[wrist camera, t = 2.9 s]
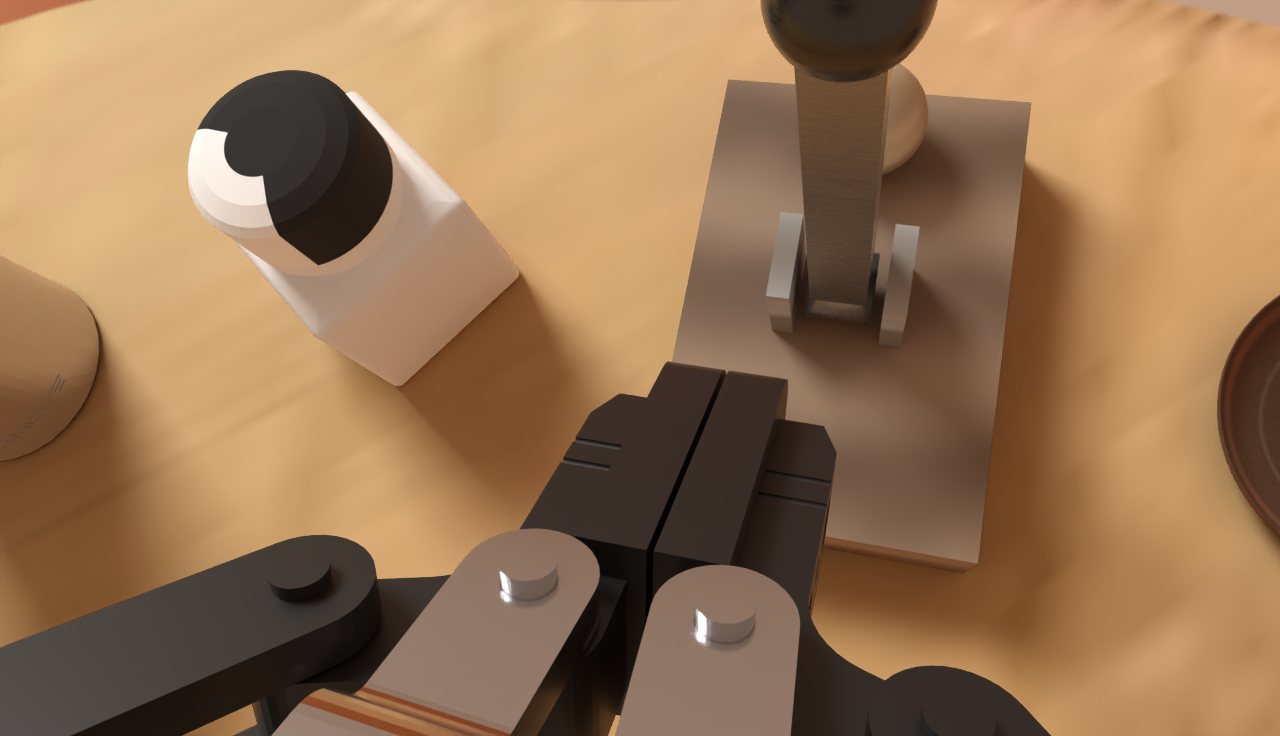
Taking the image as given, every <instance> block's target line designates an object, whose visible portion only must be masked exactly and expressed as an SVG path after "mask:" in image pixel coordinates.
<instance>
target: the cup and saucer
mask: <svg viewBox="0 0 1280 736" xmlns="http://www.w3.org/2000/svg"><path fill="white" fill-rule="evenodd" d="M1217 420H1218V430H1219V435H1220V440H1221V445H1222V449H1223V452H1224V455H1225V458H1226V461H1227V464H1228V466H1229V468H1230V470H1231V473H1232V475H1233V477H1234V479H1235V481H1236V483H1237V484H1238V486H1239V488H1240V490H1241V492H1242V493H1243V495H1244V496H1245V498H1246V499H1247V500H1248V502H1249V503H1250V505H1251V506H1252V508H1253V509H1254V510H1255V511H1256V512H1257V514H1258V515H1259V516H1260V517H1261V518H1262V520H1263V521H1264V522H1265V523H1266V524H1267V525H1268V526H1269V527H1270V528H1271V529H1272V530H1273V531H1274V532H1275V533H1276V534H1277V535H1278V536H1280V295H1279V296H1278V297H1276V298H1275V299H1274V300H1272V301H1271V302H1270V303H1268V304H1267V305H1266V306H1265V307H1264V308H1263V309H1262V310H1260V311H1259V312H1258V313H1257V314H1256V315H1255V316H1254V317H1253V318H1252V320H1251V321H1250V322H1249V323H1248V324H1247V326H1246V327H1245V328H1244V329H1243V331H1242V332H1241V334H1240V335H1239V337H1238V338H1237V340H1236V342H1235V343H1234V345H1233V347H1232V349H1231V351H1230V353H1229V355H1228V358H1227V361H1226V363H1225V366H1224V369H1223V372H1222V376H1221V380H1220V384H1219V391H1218V399H1217Z"/></svg>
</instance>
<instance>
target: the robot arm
mask: <svg viewBox="0 0 1280 736" xmlns="http://www.w3.org/2000/svg"><path fill="white" fill-rule="evenodd" d="M98 358H99V339H98V332H97V328H96V325H95V321H94V318H93V316H92V314H91V313H90V311H89V309H88V307H87V306H86V304H85V303H84V302H83V301H82V300H81V299H80V298H79V297H78V296H77V295H76V294H75V293H74V292H72V291H71V290H69V289H67V288H65V287H63V286H62V285H60V284H58V283H56V282H54V281H52V280H49V279H47V278H45V277H43V276H41V275H39V274H37V273H35V272H33V271H31V270H29V269H27V268H25V267H23V266H20V265H18V264H16V263H14V262H12V261H10V260H8V259H7V258H5V257H3V256H1V255H0V461H2V460H8V459H15V458H18V457H21V456H23V455H26V454H28V453H31V452H33V451H35V450H37V449H38V448H40V447H42V446H43V445H45V444H46V443H48V442H50V441H51V440H52V439H53V438H54V437H56V436H57V435H58V434H59V433H60V432H61V431H62V430H63V429H64V428H65V427H67V425H68V424H69V423H70V422H71V420H72V419H73V418H74V416H75V415H76V414H77V413H78V411H79V410H80V408H81V407H82V405H83V403H84V401H85V399H86V397H87V396H88V394H89V392H90V389H91V386H92V383H93V380H94V378H95V375H96V371H97V364H98ZM787 397H788V379H783V378H776V377H770V376H763V375H756V374H750V373H743V372H736V371H728V373H727V375H726V371H725V370H722V369H715V368H708V367H702V366H695V365H689V364H682V363H675V362H666V363H665V365H664V367H663V368H662V370H661V372H660V374H659V376H658V378H657V380H656V382H655V384H654V385H653V387H652V389H651V391H650V393H649V395H648V397H647V398H645V397H639V396H633V395H626V394H618V395H617V396H615V397H614V398H612V399H611V400H609V401H608V402H606V403H605V404H603V405H602V406H600V407H598V408H597V409H595V410H594V411H592V412H591V413H590V415H589V416H588V418H587V420H586V421H585V423H584V425H583V426H582V428H581V430H580V431H579V433H578V434H577V436H576V441H575V442H573V443H572V444H571V446H570V448H569V449H568V451H567V453H566V454H565V456H564V459H563V463H561V462H560V464H559V466H558V467H557V469H556V471H555V472H554V474H553V476H552V477H551V479H550V480H549V482H548V484H547V485H546V487H545V489H544V490H543V492H542V494H541V495H540V497H539V499H538V500H537V502H536V503H535V505H534V507H533V508H532V510H531V512H530V513H529V515H528V517H527V518H526V520H525V522H524V523H523V525H522V526H521V528H520V530H514V531H509V532H506V533H502V534H499V535H497V536H494V537H492V538H489V539H488V540H486V541H484V542H482V543H480V544H479V545H478V546H476V547H475V548H474V549H473V550H471V552H470V553H469V554H468V555H467V556H466V557H465V558H464V559H463V561H462V562H461V563H460V564H459V566H458V567H457V568H456V570H455V571H454V572H453V573H452V574H451V575H446V576H437V577H420V578H395V579H377V575H376V569H375V564H374V561H373V559H372V557H371V555H370V554H369V553H368V552H367V550H366V549H365V548H363V547H362V546H360V545H359V544H357V543H356V542H353V541H351V540H349V539H346V538H342V537H338V536H330V535H310V536H301V537H297V538H292V539H288V540H285V541H282V542H279V543H276V544H273V545H271V546H268V547H265V548H263V549H260V550H257V551H255V552H252V553H249V554H247V555H244V556H241V557H239V558H236V559H234V560H231V561H228V562H226V563H223V564H220V565H218V566H215V567H212V568H210V569H207V570H204V571H202V572H199V573H196V574H194V575H191V576H189V577H186V578H183V579H181V580H178V581H175V582H173V583H170V584H167V585H165V586H162V587H159V588H157V589H154V590H151V591H149V592H146V593H144V594H141V595H138V596H136V597H133V598H130V599H128V600H125V601H122V602H120V603H117V604H114V605H112V606H109V607H107V608H104V609H101V610H99V611H96V612H93V613H91V614H88V615H85V616H83V617H80V618H77V619H75V620H72V621H69V622H67V623H64V624H62V625H59V626H56V627H54V628H51V629H48V630H46V631H43V632H40V633H38V634H35V635H32V636H30V637H27V638H24V639H22V640H19V641H17V642H14V643H11V644H9V645H6V646H3V647H1V648H0V736H182V735H184V734H186V733H188V732H191V731H193V730H195V729H197V728H199V727H202V726H204V725H206V724H208V723H210V722H213V721H215V720H217V719H219V718H221V717H224V716H226V715H228V714H230V713H232V712H234V711H237V710H239V709H241V708H243V707H245V706H248V705H250V704H252V706H253V710H254V714H255V717H256V721H257V725H255V726H253V727H251V728H249V729H247V730H245V731H242V732H240V733H238V734H236V735H234V736H608V734H609V731H610V729H611V726H612V723H613V721H614V718H615V716H616V715H620V720H619V724H618V727H617V731H616V735H615V736H1051V735H1050V734H1049V733H1048V732H1047V731H1046V730H1045V729H1044V728H1043V727H1042V726H1041V724H1040V723H1039V722H1038V721H1037V720H1036V719H1035V718H1034V717H1033V716H1032V715H1031V714H1030V713H1029V712H1028V710H1027V709H1026V708H1025V707H1024V706H1023V705H1022V704H1021V703H1020V702H1019V701H1018V700H1017V699H1015V698H1014V697H1013V696H1012V695H1011V694H1010V693H1008V692H1007V691H1006V690H1004V689H1003V688H1001V687H1000V686H998V685H997V684H995V683H993V682H991V681H990V680H988V679H986V678H983V677H981V676H979V675H976V674H974V673H971V672H968V671H965V670H961V669H957V668H951V667H946V666H920V667H914V668H910V669H906V670H903V671H901V672H899V673H896V674H894V675H893V676H891V677H890V678H888V679H887V680H883V679H881V678H879V677H877V676H875V675H873V674H871V673H868V672H866V671H864V670H862V669H861V668H859V667H857V666H855V665H853V664H852V663H850V662H848V661H847V660H845V659H844V658H843V657H841V656H840V655H839V654H837V653H836V652H835V651H834V650H833V649H832V648H831V647H830V646H829V645H828V644H827V643H826V642H825V641H824V640H823V638H822V637H821V636H820V635H819V633H818V631H817V629H816V628H815V626H814V624H813V621H812V618H811V616H812V609H813V605H814V599H815V594H816V589H817V582H818V578H819V573H820V567H821V562H822V556H823V551H824V543H825V536H826V529H827V522H828V514H829V507H830V500H831V492H832V485H833V478H834V471H835V463H836V456H837V452H836V450H835V448H834V446H833V444H832V442H831V440H830V438H829V435H828V433H827V431H826V429H825V427H824V426H821V425H815V424H809V423H803V422H796V421H790V420H785V416H786V407H787Z"/></svg>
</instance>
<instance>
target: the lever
mask: <svg viewBox="0 0 1280 736" xmlns="http://www.w3.org/2000/svg"><path fill="white" fill-rule="evenodd" d="M937 1H938V0H761V10H762V15H763V20H764V24H765V26H766V29H767V32H768V34H769V36H770V38H771V40H772V42H773V43H774V45H775V47H776V48H777V49H778V51H779V52H780V53H781V54H782V55H783V57H784V58H785V59H786V60H787V61H788V62H789V63H791V64H792V65H793V66H794V68H795V83H796V98H797V113H798V128H799V143H800V159H801V174H802V189H803V204H804V219H805V234H806V249H807V264H808V273H807V280H806V287H805V296H804V316H809V317H817V318H825V319H832V320H840V321H848V322H855V323H863V324H870V321H871V315H872V309H873V302H874V296H875V289H876V282H877V275H878V268H879V260H880V253H874V252H875V242H876V232H877V222H878V212H879V202H880V192H881V182H882V172H883V162H884V152H885V142H886V132H887V122H888V112H889V102H890V92H891V82H892V72H893V67H894V66H896V65H897V64H899V63H900V62H901V61H902V60H904V59H905V58H906V57H907V56H908V55H909V54H910V53H911V52H912V51H913V50H914V49H915V47H916V46H917V45H918V44H919V42H920V41H921V40H922V38H923V37H924V35H925V33H926V31H927V29H928V28H929V26H930V24H931V21H932V19H933V16H934V13H935V10H936V6H937Z"/></svg>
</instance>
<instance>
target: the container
mask: <svg viewBox="0 0 1280 736" xmlns="http://www.w3.org/2000/svg"><path fill="white" fill-rule="evenodd" d="M188 182H189V188H190V192H191V195H192V198H193V201H194V203H195V205H196V207H197V208H198V210H199V211H200V213H201V214H202V215H203V217H204V218H205V219H206V220H207V221H208V222H210V223H211V224H212V225H213V226H214V227H216V228H217V229H219V230H220V231H222V232H223V233H224V234H226V235H227V236H229V237H230V238H232V239H233V240H234V242H235V243H236V244H237V245H238V246H239V248H240V249H241V250H242V251H243V252H244V253H245V255H246V256H247V257H248V258H249V259H250V261H251V262H252V263H253V264H254V265H255V266H256V268H257V269H258V270H259V271H260V272H261V274H262V275H263V276H264V277H265V278H266V280H267V281H268V282H269V283H270V284H271V285H272V287H273V288H274V289H275V290H276V291H277V293H278V294H279V295H280V296H281V297H282V298H283V300H284V301H285V302H286V303H287V304H288V306H289V307H290V308H291V309H292V310H293V312H294V313H295V314H296V315H297V316H298V317H299V319H300V320H301V321H302V322H303V323H304V325H305V326H306V327H307V328H308V329H309V330H310V332H311V333H312V334H313V335H314V336H315V337H316V338H318V339H319V340H321V341H323V342H324V343H326V344H327V345H329V346H331V347H332V348H334V349H336V350H337V351H339V352H340V353H342V354H344V355H345V356H347V357H348V358H350V359H352V360H353V361H355V362H357V363H358V364H360V365H361V366H363V367H365V368H366V369H368V370H369V371H371V372H373V373H374V374H376V375H377V376H379V377H381V378H382V379H384V380H386V381H387V382H389V383H390V384H392V385H394V386H401V385H403V384H404V383H406V382H407V381H408V380H409V379H410V378H411V377H412V376H413V375H414V374H415V373H416V372H417V371H418V370H419V369H421V368H422V367H423V366H424V365H425V364H426V363H427V362H428V361H429V360H430V359H431V358H432V357H433V356H434V355H436V354H437V353H438V352H439V351H440V350H441V349H442V348H443V347H444V346H445V345H446V344H447V343H448V342H449V341H451V340H452V339H453V338H454V337H455V336H456V335H457V334H458V333H459V332H460V331H461V330H462V329H463V328H465V327H466V326H467V325H468V324H469V323H470V322H471V321H472V320H473V319H474V318H475V317H476V316H477V315H478V314H480V313H481V312H482V311H483V310H484V309H485V308H486V307H487V306H488V305H489V304H490V303H491V302H492V301H493V300H495V299H496V298H497V297H498V296H499V295H500V294H501V293H502V292H503V291H504V290H505V289H506V288H507V287H508V286H510V285H511V284H512V283H513V282H514V281H515V280H516V279H517V278H518V276H519V269H518V267H517V265H516V264H515V263H514V262H513V260H512V259H511V258H510V257H509V255H508V254H507V253H506V252H505V250H504V249H503V248H502V247H501V246H500V244H499V243H498V242H497V241H496V239H495V238H494V237H493V236H492V234H491V233H490V232H489V231H488V229H487V228H486V227H485V226H484V224H483V223H482V222H481V221H480V220H479V218H478V217H477V216H476V215H475V213H474V212H473V211H472V210H471V208H470V207H469V206H468V205H467V203H466V202H465V201H464V200H463V199H462V198H461V197H460V196H459V195H458V194H457V193H456V192H455V190H454V189H453V188H452V187H451V186H450V185H449V184H448V183H447V182H446V181H445V180H444V179H443V178H442V177H441V176H440V175H439V174H438V173H437V172H436V171H435V170H434V169H433V168H432V167H431V166H430V165H429V164H428V163H427V162H426V161H425V160H424V159H423V158H422V157H421V156H420V155H419V154H418V153H417V152H416V151H415V150H414V149H413V148H412V147H411V146H410V145H409V144H408V143H407V142H406V141H405V140H404V139H403V138H402V137H401V136H400V135H399V134H398V133H397V132H396V131H395V130H394V129H393V128H392V127H391V126H390V125H389V123H388V122H387V121H386V120H385V119H384V118H383V117H382V116H381V115H380V114H379V113H378V112H377V111H376V110H375V109H374V108H373V107H372V106H371V105H370V104H369V103H368V102H367V101H366V100H365V99H364V98H363V97H362V96H361V95H359V94H358V93H356V92H349V93H347V94H345V92H344V91H343V90H342V89H340V88H339V87H338V86H337V85H336V84H335V83H333V82H332V81H330V80H329V79H327V78H325V77H322V76H320V75H318V74H314V73H311V72H307V71H298V70H285V71H278V72H272V73H267V74H263V75H260V76H257V77H254V78H252V79H249V80H247V81H245V82H243V83H241V84H240V85H238V86H236V87H235V88H233V89H232V90H230V91H229V92H228V93H226V94H225V95H224V96H223V97H222V98H221V99H220V100H218V101H217V102H216V104H215V105H214V106H213V107H212V108H211V109H210V110H209V112H208V113H207V115H206V116H205V117H204V119H203V120H202V122H201V124H200V126H199V128H198V129H197V132H196V134H195V137H194V139H193V142H192V146H191V149H190V155H189V163H188Z"/></svg>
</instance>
